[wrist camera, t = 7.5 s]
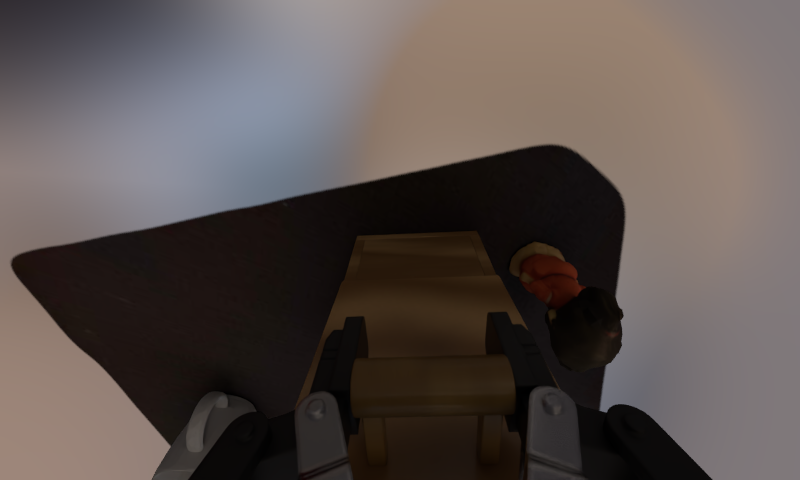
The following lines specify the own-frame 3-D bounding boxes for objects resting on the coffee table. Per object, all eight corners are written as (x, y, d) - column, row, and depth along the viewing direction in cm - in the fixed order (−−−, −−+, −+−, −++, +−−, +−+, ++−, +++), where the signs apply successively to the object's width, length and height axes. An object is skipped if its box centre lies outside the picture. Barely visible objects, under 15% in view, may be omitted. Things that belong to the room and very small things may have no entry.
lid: (629, 542, 10) (676, 423, 8) (254, 544, 10) (209, 432, 8) (498, 284, 24) (503, 218, 22) (343, 289, 25) (334, 226, 23)
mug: (268, 431, 47) (236, 514, 38) (206, 425, 47) (159, 508, 38) (260, 371, 41) (221, 453, 33) (189, 364, 41) (130, 445, 32)
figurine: (503, 245, 32) (550, 332, 22) (560, 229, 31) (639, 310, 21) (514, 293, 35) (562, 391, 24) (567, 279, 34) (640, 374, 23)
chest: (470, 341, 38) (484, 402, 31) (371, 344, 39) (363, 405, 32) (476, 230, 32) (497, 276, 25) (357, 235, 32) (343, 281, 25)
